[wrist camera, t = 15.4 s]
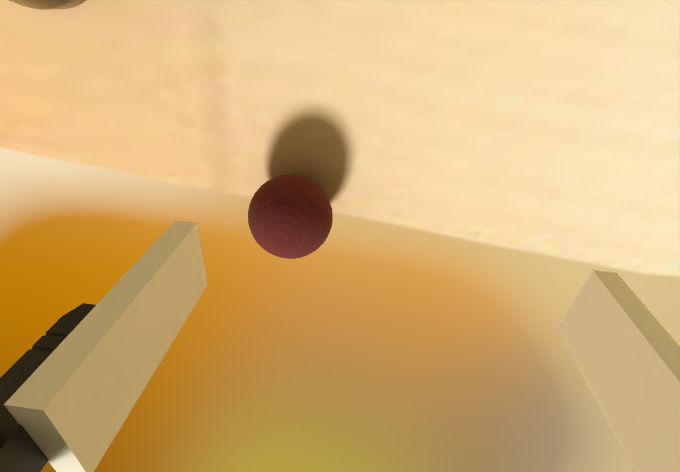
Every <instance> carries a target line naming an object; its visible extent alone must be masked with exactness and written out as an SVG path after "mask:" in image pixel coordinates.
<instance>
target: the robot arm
mask: <svg viewBox="0 0 680 472" xmlns="http://www.w3.org/2000/svg"><path fill="white" fill-rule="evenodd" d="M9 1H12V2H14V3H17V4H19V5H22V6H26V7H30V8H36V9H67V8H71V7H75V6H77V5H79V4H81V3H83V2H84V1H86V0H9ZM206 286H207V279H206V273H205V267H204V261H203V256H202V250H201V244H200V238H199V232H198V227H197V223H191V222H182V221H174V222H173V223H172V224H171V225H170V226H169V228H168V229H167V230H166V231H165V232H164V233H163V234H162V235H161V236H160V237H159V238H158V239H157V240H156V241H155V243H154V244H153V245H152V246H151V247H150V248H149V249H148V250H147V251H146V252H145V253H144V255H142V256H141V258H140V259H139V260H138V261H137V262H136V263H135V264H134V265H133V266H132V267H131V268H130V270H129V271H128V272H127V273H126V274H125V275H124V276H123V277H122V278H121V279H120V280H119V281H118V282H117V283H116V284H115V286H114V287H113V288H112V289H111V290H110V291H109V292H108V293H107V294H106V295H105V296H104V297H103V299H102V300H101V301H100V302H99V303H98V304H97V305H92V304H85V303H83V304H82V305H80V306H78V307H77V308H75V309H74V310H72V311H70V312H69V313H67V314H65V315H63V316H62V317H61V318H60V319H59V320H58V321H57V322H56V323H55V324H54V325H53V326H52V327H51V328H50V329H49V330H48V331H47V332H46V335H45V336H42V337H41V338H40V339H39V340H38V341H37V342H36V343H35V344H34V345H33V347H32V349H31V350H28V351H27V352H26V353H25V354H24V355H23V356H22V357H21V358H20V359H19V360H18V361H17V362H16V363H15V364H14V365H13V366H12V367H11V368H10V369H9V370H8V371H7V372H6V373H5V374H4V375H3V376H2V377H1V378H0V472H40V471H41V470H42V468H43V467H44V466H45V464H46V463H47V462H49V463H50V464H51V465H52V466H53V468H54V469H55V470H56V472H93V471H94V470H95V469H96V467H97V465H98V464H99V462H100V460H101V459H102V457H103V455H104V454H105V452H106V451H107V449H108V447H109V446H110V444H111V442H112V441H113V439H114V437H115V436H116V434H117V432H118V431H119V429H120V427H121V426H122V424H123V423H124V421H125V419H126V418H127V416H128V414H129V412H130V411H131V409H132V408H133V406H134V404H135V403H136V401H137V400H138V398H139V396H140V395H141V393H142V391H143V389H144V388H145V386H146V385H147V383H148V381H149V380H150V378H151V377H152V375H153V373H154V372H155V370H156V368H157V367H158V365H159V363H160V362H161V360H162V358H163V357H164V355H165V354H166V352H167V350H168V349H169V347H170V345H171V344H172V342H173V340H174V339H175V337H176V335H177V334H178V332H179V331H180V329H181V327H182V326H183V324H184V322H185V321H186V319H187V317H188V316H189V314H190V312H191V310H192V309H193V307H194V306H195V304H196V302H197V301H198V299H199V297H200V296H201V294H202V293H203V291H204V289H205V287H206ZM558 330H559V332H560V334H561V336H562V338H563V340H564V341H565V343H566V345H567V347H568V349H569V351H570V353H571V355H572V357H573V358H574V360H575V362H576V364H577V366H578V368H579V370H580V372H581V373H582V375H583V377H584V379H585V381H586V383H587V385H588V386H589V389H590V390H591V392H592V394H593V396H594V398H595V400H596V402H597V404H598V405H599V407H600V409H601V411H602V413H603V415H604V417H605V418H606V420H607V422H608V424H609V426H610V428H611V430H612V432H613V434H614V435H615V437H616V439H617V441H618V443H619V445H620V447H621V448H622V450H623V452H624V454H625V456H626V458H627V460H628V462H629V464H630V466H631V467H632V469H633V471H634V472H680V346H679V345H678V344H677V343H676V342H675V341H674V339H673V338H672V337H671V336H670V335H669V334H668V332H667V331H666V330H665V329H664V328H663V327H662V325H661V324H660V323H659V322H658V321H657V319H656V318H655V317H654V316H653V315H652V314H651V313H650V311H649V310H648V309H647V308H646V307H645V305H644V304H643V303H642V302H641V301H640V300H639V298H638V297H637V296H636V295H635V294H634V293H633V291H632V290H631V289H630V288H629V287H628V286H627V284H626V283H625V282H624V281H623V280H622V279H621V277H620V276H619V275H618V274H617V273H613V272H605V271H596V270H593V271H592V272H591V274H590V275H589V277H588V279H587V280H586V282H585V283H584V285H583V287H582V289H581V290H580V292H579V293H578V295H577V297H576V298H575V300H574V302H573V303H572V305H571V307H570V308H569V310H568V312H567V313H566V315H565V317H564V318H563V320H562V322H561V323H560V325H559V327H558Z"/></svg>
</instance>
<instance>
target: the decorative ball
mask: <svg viewBox="0 0 680 472" xmlns="http://www.w3.org/2000/svg"><path fill="white" fill-rule="evenodd" d="M248 223H249V227H250V230H251V232H252V235H253V237H254V239H255V240H256V242H257V243H258V244H259V245H260V246H261V247H262V248H263V249H265V250H266V251H267V252H269V253H271V254H273V255H275V256H278V257H282V258H290V259H291V258H293V259H294V258H301V257H303V256H306V255H309V254H310V253H312V252H314V251H316V250H317V249H318V248H319V247H320V246H321V245H322V244H323V243H324V241H325V240H326V238H327V237H328V234H329V232H330V229H331V226H332V208H331V205H330V202H329V199H328V197H327V196H326V194H325V192H324V191H323V190H322V189H321V188H320V187H319V186H318V185H317V184H316V183H314V182H313V181H311V180H309V179H307V178H304V177H302V176H297V175H283V176H278V177H275V178H273V179H271V180H269V181H267V182H266V183H264V184H263V185H262V186H261V187H260V188H259V189H258V190H257V192H256V193H255V194H254V196H253V198H252V200H251V203H250V206H249V210H248Z"/></svg>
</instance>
